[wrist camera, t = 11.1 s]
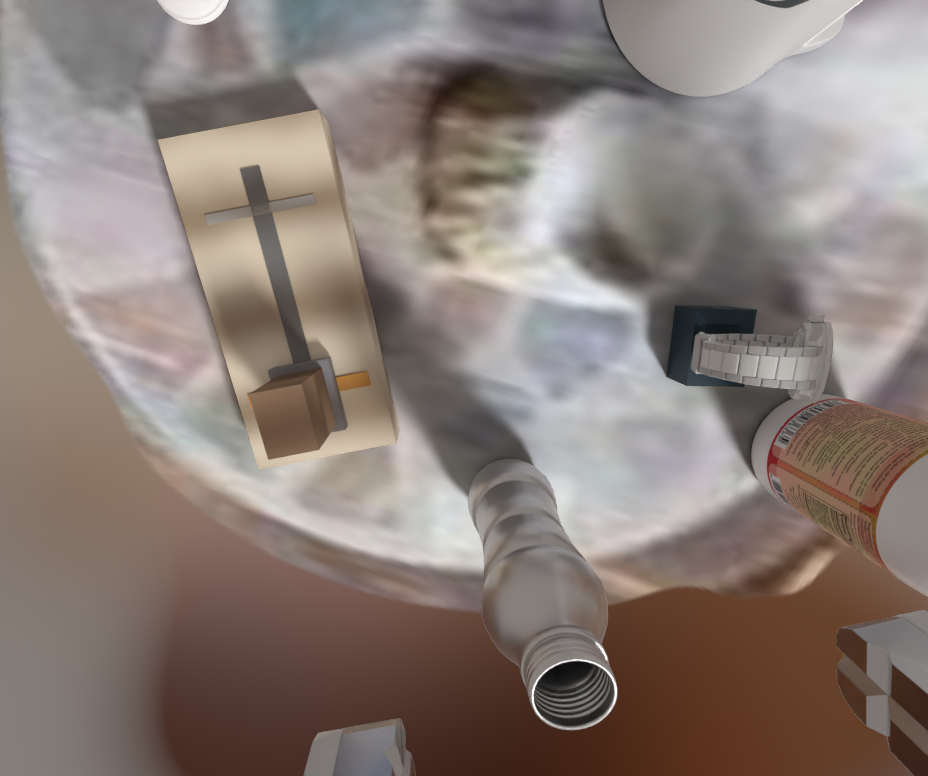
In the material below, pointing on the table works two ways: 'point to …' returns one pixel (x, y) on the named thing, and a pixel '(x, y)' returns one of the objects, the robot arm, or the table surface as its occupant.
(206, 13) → the chess piece
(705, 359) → the watch
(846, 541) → the fruit juice
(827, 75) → the table surface
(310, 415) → the slider
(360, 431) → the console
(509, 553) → the plastic bottle
